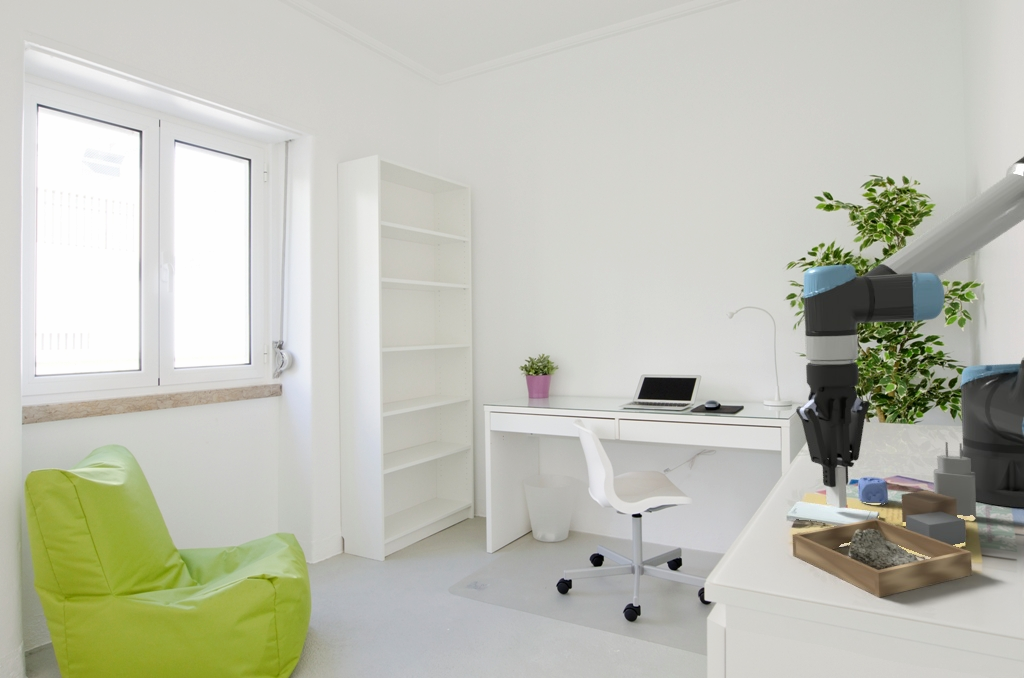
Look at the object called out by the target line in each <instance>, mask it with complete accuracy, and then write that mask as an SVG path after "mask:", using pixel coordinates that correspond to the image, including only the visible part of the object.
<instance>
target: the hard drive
mask: <svg viewBox="0 0 1024 678" xmlns="http://www.w3.org/2000/svg"><path fill="white" fill-rule="evenodd" d="M879 515H880V512H879V511H872V510H866V509H865V510H864V509H857V508H850V507H843V508H838V507H835V506H832V505H829V504H827V505H826V504H821V503H820V504H819V503H814V502H806V501H796V502H795V503H794V505H793V506H792V508H791V509H790V510H789V511H788V513H786V521H789V522H794V521H795V520H796V519H799V520H809V521H810V520H811V521H817V522H822V523H827V524H832V525H837V526H840V525H845V524H850V523H855V522H860V521H866V520H871V519H878V516H879Z"/></svg>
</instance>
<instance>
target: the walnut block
mask: <svg viewBox="0 0 1024 678" xmlns="http://www.w3.org/2000/svg"><path fill="white" fill-rule="evenodd" d="M940 511H941V512H944V513H947V514H950V515H953V516H955V517H957V499H956V498H952V497H949V496H945V495H941V494H938V493H934V491H931V490H927V489H925V490H920V491H914V492H908V493H903V494H901V518H902V519H901V520H902V522H906V516H909V515H917V514H925V513H933V512H940Z"/></svg>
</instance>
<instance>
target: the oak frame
mask: <svg viewBox="0 0 1024 678" xmlns="http://www.w3.org/2000/svg"><path fill="white" fill-rule="evenodd" d="M857 529H860V530H862V531H864V530H866V529H875V530H877V531H880V532H881V534H882V535H883V537H884V539H885V540H886V541H889V542H891V543H893V544H896V545H899V546H901V547H904V548H906V549H909V550H912V551H914V552H917V553H919V554H922V555H925V556H928V557H931V558H930V559H922V560H920V561H917V562H912V563H908V564H903V565H899V566H894V567H890V568H886V569H881V570H877V569H874V568H872V567H870V566H868V565H865V564H863V563H861V562H859V561H856V560H854V559H852V558H850V556H847V555H844V554H842V553H840V552H838V551H836V549H839V548H838V547H839V546H840V545H841V544H844V543H849V542H851V540H852V539H853V538H852V535H854V533H855V531H856V530H857ZM792 555H793V557H796V558H798V559H800V560H802V561H804V562H805V563H806V562H807V563H808V564H810V565H813V566H814V567H816V568H819V569H820V570H823V571H824V572H827V573H828V574H831V575H833V576H834V577H837V578H839V579H841V580H843V581H845V582H847V583H849V584H850V585H853V586H855V587H858V588H859V589H861V590H863V591H865V592H868V593H870V594H871V595H873V594H874V596H876V597H878V598H882V597H887V596H890V595H895V594H898V593H899V594H900V593H904V592H906V591H911V590H912V591H913V590H915V589H920V588H924V587H928V586H933V585H936V584H941V583H944V582H949V581H952V580H956V579H961V578H965V577H966V578H967V577H970V576H972V572H973V571H972V569H973V568H972V566H973V565H972V551H969V550H967V549H964V548H962V547H961V548H959V547H956V546H953V545H950V544H947V543H944V542H941V541H939V540H936V539H933V538H930V537H927V536H924V535H921V534H919V533H916V532H913V531H910V530H907V529H906V528H903V527H902V526H898V525H895V524H893V523H890V522H887V521H884V520H882V519H880V518H879V519H871V520H866V521H860V522H855V523H850V524H845V525H840V526H834V527H824V528H820V529H814V530H809V531H805V532H800V533H793V534H792Z"/></svg>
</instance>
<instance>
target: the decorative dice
mask: <svg viewBox="0 0 1024 678" xmlns="http://www.w3.org/2000/svg"><path fill="white" fill-rule="evenodd" d="M857 483H858V484H857V487H858V490H857V492H858V498H859V502H860V501H862V502H866V503H881V504H884V503H886V504H887V503H888V499H889V493H888V485H887V481H886V480H885V479H883V478H880V477H873V476H863V477H861V478H859V479H858V482H857Z"/></svg>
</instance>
